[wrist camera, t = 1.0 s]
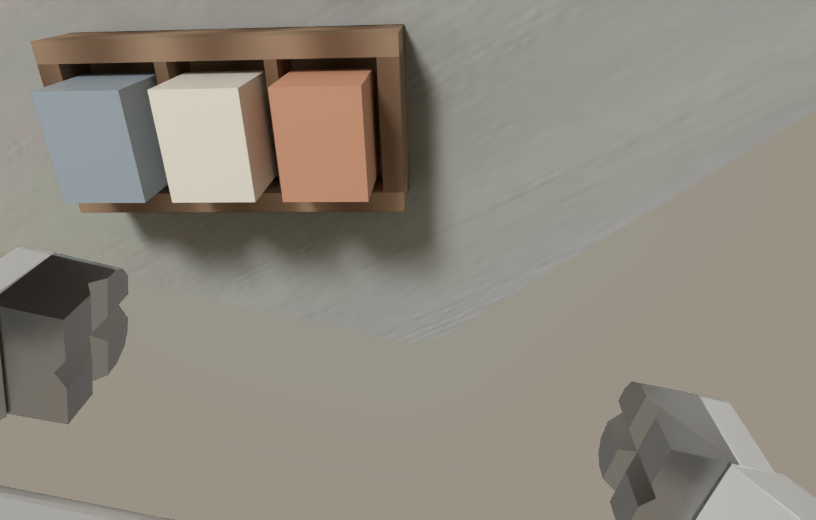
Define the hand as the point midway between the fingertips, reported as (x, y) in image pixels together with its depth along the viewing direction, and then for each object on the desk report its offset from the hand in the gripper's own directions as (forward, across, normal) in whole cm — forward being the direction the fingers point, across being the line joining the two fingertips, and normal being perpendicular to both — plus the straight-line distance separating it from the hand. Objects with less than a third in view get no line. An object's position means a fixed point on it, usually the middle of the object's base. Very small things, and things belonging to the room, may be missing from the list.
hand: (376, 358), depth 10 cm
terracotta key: (+27, +4, +4) cm, 27 cm away
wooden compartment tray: (+29, +10, +5) cm, 32 cm away
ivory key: (+27, +10, +5) cm, 29 cm away
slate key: (+27, +16, +7) cm, 32 cm away
